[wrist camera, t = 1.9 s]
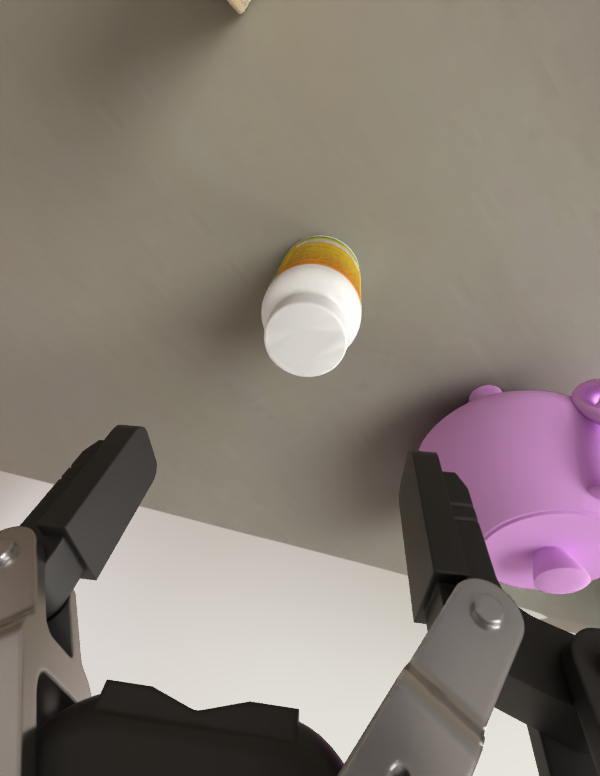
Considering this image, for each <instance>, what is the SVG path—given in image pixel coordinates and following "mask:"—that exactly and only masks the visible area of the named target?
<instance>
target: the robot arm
mask: <svg viewBox="0 0 600 776" xmlns="http://www.w3.org/2000/svg"><path fill="white" fill-rule="evenodd" d="M156 468H157V464H156V459H155V456H154V452H153V449H152V446H151V443H150V440H149V436H148V433H147V430H146V429H145V428H144V427H140V426H128V425H117V426H116V427H114V429H113V430H112V431H111V432H110V433H109V435H108V436H107V437H106V438H105V440H99V441H97V442H96V443H94V444H93V445H91V446H90V447H88V448H87V449H86V450H84V451H83V452H82V453H81V454H80V455H79V457H78V458H77V459H76V460H75V461H74V462H73V464H72V465H71V468H68V470H67V471H66V472H65V473H64V474H63V475H62V479H59V480H58V481H57V483H56V484H55V485H54V486H53V487H52V489H51V490H50V491H49V492H48V493H47V494H46V496H45V497H44V498H43V499H42V500H41V501H40V503H39V504H38V505H37V506H36V507H35V509H34V510H33V511H32V512H31V513H30V514H29V516H28V517H27V518H26V519H25V520H24V522H23V523H22V524H21V525H20V526H17V527H11V528H7V529H4V530H1V531H0V776H472V775H473V772H474V770H475V767H476V765H477V763H478V760H479V757H480V754H481V752H482V748H483V745H484V740H485V737H484V732H485V728H486V725H487V723H488V720H489V718H490V715H491V713H492V711H493V708H494V707H495V708H497V709H499V710H501V711H503V712H505V713H506V714H508V715H510V716H512V717H514V718H516V719H518V720H519V721H521V722H523V723H525V724H527V727H528V731H529V735H530V739H531V743H532V747H533V752H534V756H535V760H536V764H537V768H538V772H539V776H600V629H598V628H586V629H583V630H581V631H579V632H578V633H577V634H576V635H573V634H571V633H569V632H567V631H564V630H562V629H560V628H557V627H555V626H553V625H550V624H548V623H546V622H544V621H541V620H539V619H537V618H535V617H533V616H531V615H529V614H527V613H526V612H524V611H523V610H522V609H520V608H519V607H518V606H517V605H516V603H515V602H514V600H513V599H512V598H511V597H510V596H509V595H508V594H507V593H506V592H505V591H504V590H503V589H502V588H501V586H500V584H499V582H498V580H497V577H496V574H495V571H494V568H493V565H492V562H491V559H490V556H489V553H488V550H487V546H486V543H485V540H484V537H483V534H482V531H481V528H480V525H479V523H478V518H477V515H476V512H475V509H474V508H473V503H472V500H471V496H470V493H469V490H468V488H467V486H466V485H465V484H464V483H463V481H462V480H461V479H460V478H459V476H458V475H457V474H456V473H455V472H444V471H442V468H441V464H440V460H439V457H438V454H437V453H436V452H427V451H415V450H409V452H408V455H407V459H406V463H405V467H404V472H403V476H402V480H401V484H400V492H399V505H400V513H401V521H402V530H403V538H404V546H405V554H406V562H407V570H408V578H409V586H410V594H411V603H412V611H413V618H414V622H416V623H423V624H427V630H428V633H427V634H426V636H425V638H424V639H423V641H422V643H421V644H420V646H419V647H418V649H417V651H416V652H415V654H414V655H413V657H412V659H411V660H410V662H409V663H408V664H407V665H406V666H405V667H404V669H403V670H402V672H401V673H400V675H399V676H398V678H397V679H396V681H395V683H394V684H393V686H392V688H391V689H390V691H389V692H388V694H387V696H386V697H385V699H384V701H383V702H382V704H381V705H380V707H379V709H378V710H377V712H376V713H375V715H374V717H373V718H372V720H371V722H370V724H369V725H368V726H367V728H366V730H365V732H364V733H363V735H362V736H361V738H360V740H359V741H358V743H357V745H356V746H355V748H354V749H353V751H352V752H351V754H350V756H349V757H348V759H347V761H346V762H345V764H344V763H343V762H342V760H341V759H340V757H339V756H338V755H337V753H336V752H335V751H334V750H333V748H332V747H331V746H330V745H329V744H328V743H327V742H326V741H325V740H324V739H323V738H322V737H321V736H320V735H319V734H317V733H316V732H315V731H313V730H312V729H311V728H309V727H308V726H306V725H304V724H302V723H300V722H299V709H294V708H288V707H281V706H275V705H268V704H262V703H255V702H246V703H240V704H234V705H229V706H223V707H217V708H212V709H206V710H199V711H197V710H193V709H191V708H189V707H187V706H185V705H184V704H182V703H180V702H178V701H177V700H175V699H173V698H171V697H170V696H168V695H166V694H164V693H163V692H161V691H159V690H157V689H156V688H154V687H151V686H145V685H138V684H132V683H125V682H119V681H113V680H107V681H106V683H105V685H104V688H103V690H102V692H101V694H99V695H96V696H93V697H91V693H90V688H89V684H88V680H87V677H86V675H85V672H84V669H83V666H82V661H81V655H80V654H81V653H80V641H79V630H78V618H77V606H76V595H75V591H74V587H75V585H76V584H77V582H78V580H79V579H80V578H82V579H90V580H97V578H98V576H99V575H100V573H101V571H102V569H103V567H104V566H105V564H106V562H107V561H108V559H109V557H110V555H111V554H112V552H113V550H114V548H115V546H116V545H117V543H118V541H119V540H120V538H121V536H122V534H123V532H124V531H125V529H126V527H127V526H128V524H129V522H130V520H131V519H132V517H133V515H134V513H135V512H136V510H137V508H138V507H139V505H140V503H141V501H142V500H143V498H144V496H145V494H146V493H147V491H148V489H149V487H150V486H151V484H152V482H153V480H154V478H155V474H156Z"/></svg>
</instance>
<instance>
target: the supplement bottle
mask: <svg viewBox="0 0 600 776" xmlns="http://www.w3.org/2000/svg"><path fill="white" fill-rule="evenodd" d="M261 317H262V323H263V327H264V330H265V331H264V344H265V348H266V351H267V353H268V355H269V356H270V358H271V359H272V361H273V362H274V363H275V364H276V365H277V366H278V367H280V368H281V369H282V370H284V371H286V372H288V373H290V374H293V375H296V376H301V377H314V376H319V375H322V374H325V373H327V372H329V371H331V370H332V369H334V368H335V367H336V366H337V365H338V364H339V363H340V361H341V360H342V358H343V357H344V355H345V352H346V349H347V348H348V346H349V345H350V344H351V343H352V342H353V340H354V339H355V337H356V335H357V333H358V330H359V327H360V322H361V280H360V268H359V264H358V261H357V259H356V257H355V255H354V253H353V252H352V251H351V249H350V248H349V247H348V246H347V245H346V244H344V243H343V242H342V241H340V240H338V239H336V238H333V237H330V236H325V235H315V236H310V237H307V238H305V239H302V240H300V241H299V242H297V243H296V244H295V245H293V246H292V247H291V249H290V250H289V251H288V252H287V254H286V255H285V257H284V259H283V261H282V263H281V265H280V267H279V269H278V271H277V273H276V274H275V276H274V278H273V280H272V282H271V284H270V285H269V287H268V289H267V291H266V294H265V296H264V299H263V303H262V309H261Z"/></svg>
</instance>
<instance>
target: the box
mask: <svg viewBox="0 0 600 776" xmlns="http://www.w3.org/2000/svg"><path fill="white" fill-rule="evenodd" d="M227 1H228V3H229V4H230V5H231V6H232V7H233V8H234V9H235V11H236V12H237V13H238V14H242V13H243V12H244V11H245V9H246V8H247V6H248V5H249V3H250V1H251V0H227Z"/></svg>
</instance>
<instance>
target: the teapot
mask: <svg viewBox="0 0 600 776" xmlns="http://www.w3.org/2000/svg"><path fill="white" fill-rule="evenodd" d="M599 398H600V379H593V380H589V381H586V382H584V383H582V384H580V385H579V386H577V387H576V388H575V389H574V391H573V393H572V397H570V396H567V395H564V394H560V393H554V392H549V391H536V390H523V391H510V392H502V391H501V389H500V388H498V387H496V386H493V385H484V386H481V387H478V388H476V389H475V390H474V391H473V392H472V393H471V394H470V396H469V403H467V404H465V405H463V406H461V407H459V408H458V409H456V410H454V411H453V412H452V413H450V414H449V415H447V416H446V417H445V418H443V419H442V420H441V421H440V422H439V423H438V424H437V425H436V426H435V427H434V428H433V429H432V430H431V431H430V432H429V433H428V434H427V436H426V437H425V439H424V440H423V442H422V444H421V446H420V448H419V450H418V451H427V452H436V453H437V454H438V457H439V460H440V464H441V468H442V471H444V472H455V473H456V474H457V475H458V476H459V478H460V479H461V480H462V481H463V483H464V484H465V485H466V486H467V488H468V490H469V493H470V496H471V500H472V503H473V508H474V509H475V512H476V515H477V518H478V523H479V525H480V528H481V531H482V534H483V537H484V540H485V543H486V546H487V550H488V553H489V556H490V559H491V562H492V565H493V568H494V571H495V574H496V577H497V580H498V581H499V582H502V583H505V584H507V585H511V586H515V587H520V588H527V589H539V590H540V591H543V592H546V593H550V594H568V593H572V592H576V591H579V590H581V589H583V588H585V587H586V586H587V585H588V584H589V583H590V581H593V580H595V579H597V578H600V401H599V402H598V403H597V400H598V399H599Z"/></svg>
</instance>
